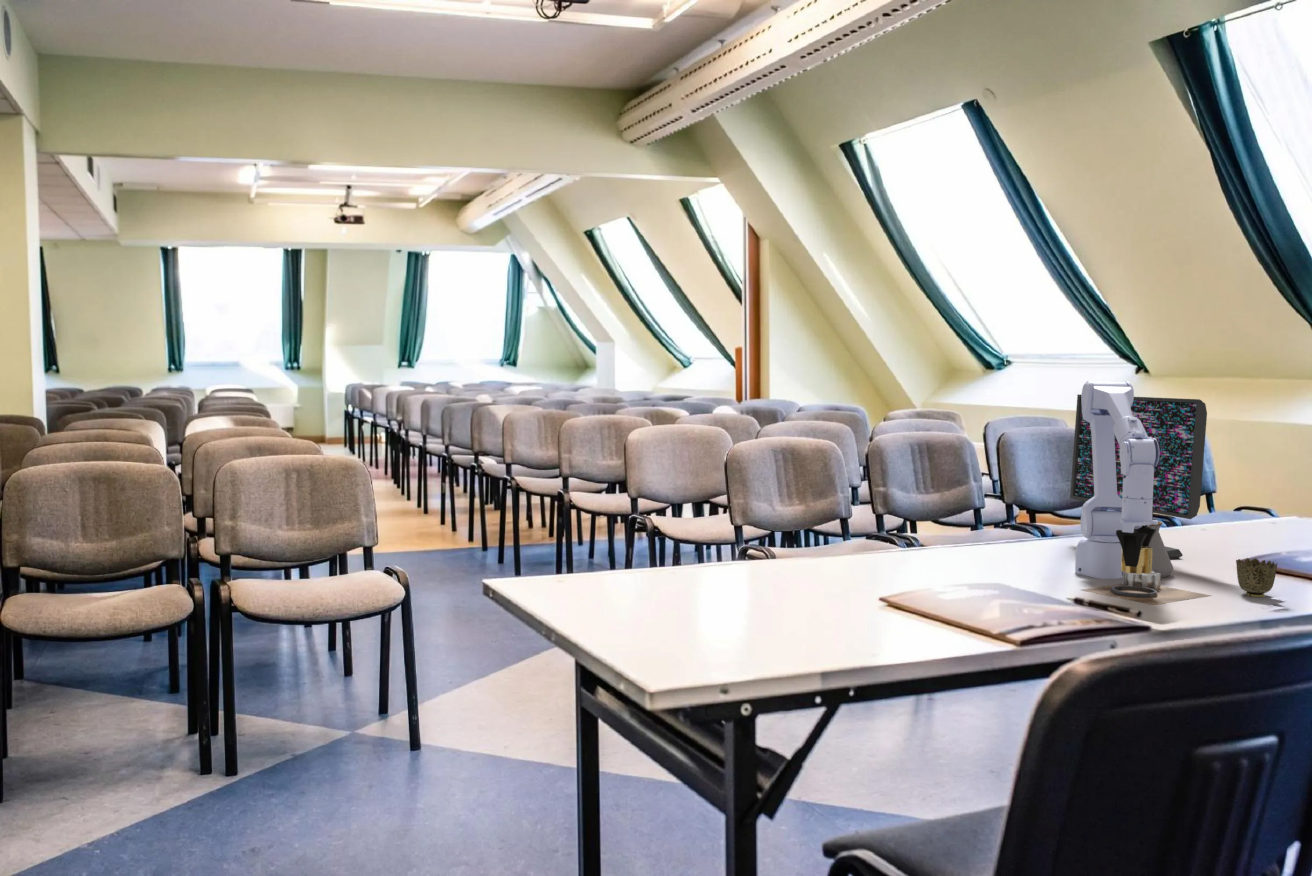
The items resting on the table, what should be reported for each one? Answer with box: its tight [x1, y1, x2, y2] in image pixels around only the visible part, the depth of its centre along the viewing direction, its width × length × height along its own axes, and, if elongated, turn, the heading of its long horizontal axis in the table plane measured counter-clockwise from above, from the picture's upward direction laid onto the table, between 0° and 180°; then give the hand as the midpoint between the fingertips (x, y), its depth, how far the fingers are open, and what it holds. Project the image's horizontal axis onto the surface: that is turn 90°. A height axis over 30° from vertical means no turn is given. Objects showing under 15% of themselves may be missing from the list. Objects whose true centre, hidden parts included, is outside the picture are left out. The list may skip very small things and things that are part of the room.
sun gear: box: [1122, 571, 1161, 590], centre depth 239 cm, size 7×7×4 cm
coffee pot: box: [1099, 510, 1174, 579], centre depth 258 cm, size 21×12×15 cm, turn 33°
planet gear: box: [1121, 546, 1152, 574], centre depth 231 cm, size 6×6×5 cm
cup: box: [1235, 557, 1278, 598], centre depth 231 cm, size 8×7×8 cm
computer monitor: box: [1069, 393, 1208, 560], centre depth 286 cm, size 44×16×40 cm, turn 17°
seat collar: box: [1111, 586, 1157, 598], centre depth 231 cm, size 9×9×1 cm
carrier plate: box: [1081, 583, 1213, 606], centre depth 233 cm, size 17×19×1 cm
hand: (1135, 564), depth 231 cm, fingers closed on planet gear, 6 cm apart
